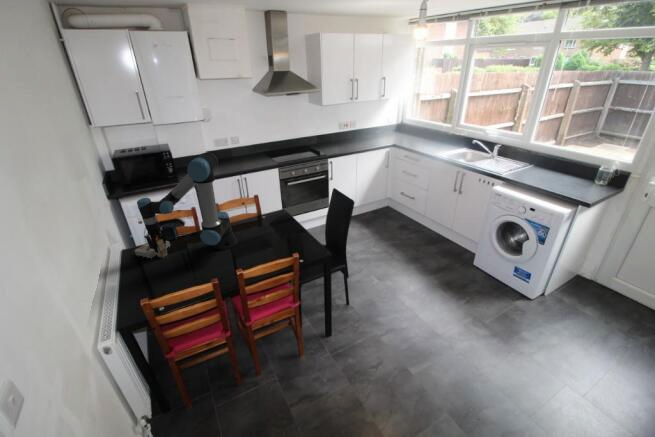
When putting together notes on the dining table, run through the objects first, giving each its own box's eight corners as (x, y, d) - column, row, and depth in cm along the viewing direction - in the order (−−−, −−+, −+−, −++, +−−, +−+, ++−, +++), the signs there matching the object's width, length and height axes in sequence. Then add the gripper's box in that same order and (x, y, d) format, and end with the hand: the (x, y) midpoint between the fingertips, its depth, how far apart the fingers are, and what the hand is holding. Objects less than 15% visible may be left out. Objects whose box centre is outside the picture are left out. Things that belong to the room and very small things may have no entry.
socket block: (170, 246, 220) (168, 241, 218) (151, 259, 207) (149, 253, 205) (155, 243, 225) (153, 238, 223) (136, 255, 212) (134, 250, 210)
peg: (168, 255, 210) (162, 239, 204) (163, 258, 207) (157, 242, 201) (163, 254, 211) (157, 238, 206) (158, 257, 208) (152, 241, 203)
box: (178, 235, 233) (174, 222, 228) (176, 239, 228) (172, 226, 223) (167, 236, 232) (163, 224, 227) (165, 240, 227) (160, 227, 222)
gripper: (157, 215, 206) (168, 246, 216) (134, 228, 192) (147, 260, 203) (166, 216, 203) (176, 248, 214) (143, 229, 189) (156, 262, 200)
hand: (162, 253), depth 208 cm, fingers closed on peg, 4 cm apart
